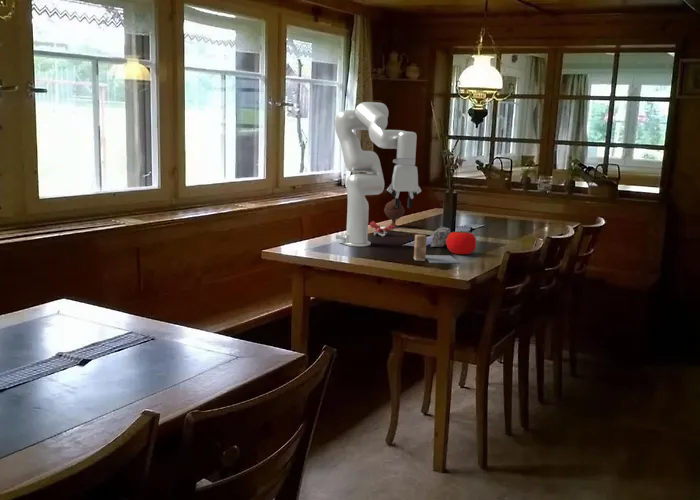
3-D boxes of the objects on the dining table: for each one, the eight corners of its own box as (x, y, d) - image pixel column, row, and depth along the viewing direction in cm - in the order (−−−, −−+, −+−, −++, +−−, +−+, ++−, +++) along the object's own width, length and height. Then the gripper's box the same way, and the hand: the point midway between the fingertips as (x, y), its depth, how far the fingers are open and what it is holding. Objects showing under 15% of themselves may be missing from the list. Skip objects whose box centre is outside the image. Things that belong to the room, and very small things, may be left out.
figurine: (360, 234, 356) (361, 221, 355) (372, 232, 366) (373, 218, 365) (388, 238, 348) (388, 224, 347) (399, 235, 358) (400, 222, 357)
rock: (437, 248, 326) (441, 226, 326) (421, 245, 331) (425, 223, 330) (453, 250, 340) (456, 228, 339) (437, 247, 344) (440, 226, 343)
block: (415, 260, 301) (417, 236, 299) (413, 258, 305) (415, 234, 303) (425, 260, 302) (426, 236, 300) (423, 258, 306) (424, 234, 304)
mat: (430, 263, 297) (430, 262, 297) (422, 255, 311) (422, 255, 311) (459, 263, 299) (459, 262, 299) (450, 256, 312) (450, 255, 312)
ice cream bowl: (407, 227, 384) (409, 198, 381) (397, 229, 375) (398, 200, 372) (389, 225, 389) (391, 196, 386) (379, 227, 380) (380, 198, 377)
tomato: (475, 257, 313) (476, 233, 311) (445, 255, 315) (446, 231, 313) (475, 252, 323) (477, 229, 321) (446, 250, 325) (447, 227, 323)
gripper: (386, 162, 290) (384, 208, 294) (428, 164, 292) (425, 209, 296) (383, 161, 298) (381, 206, 301) (424, 162, 300) (421, 207, 303)
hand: (403, 207), depth 298 cm, fingers open, 4 cm apart
